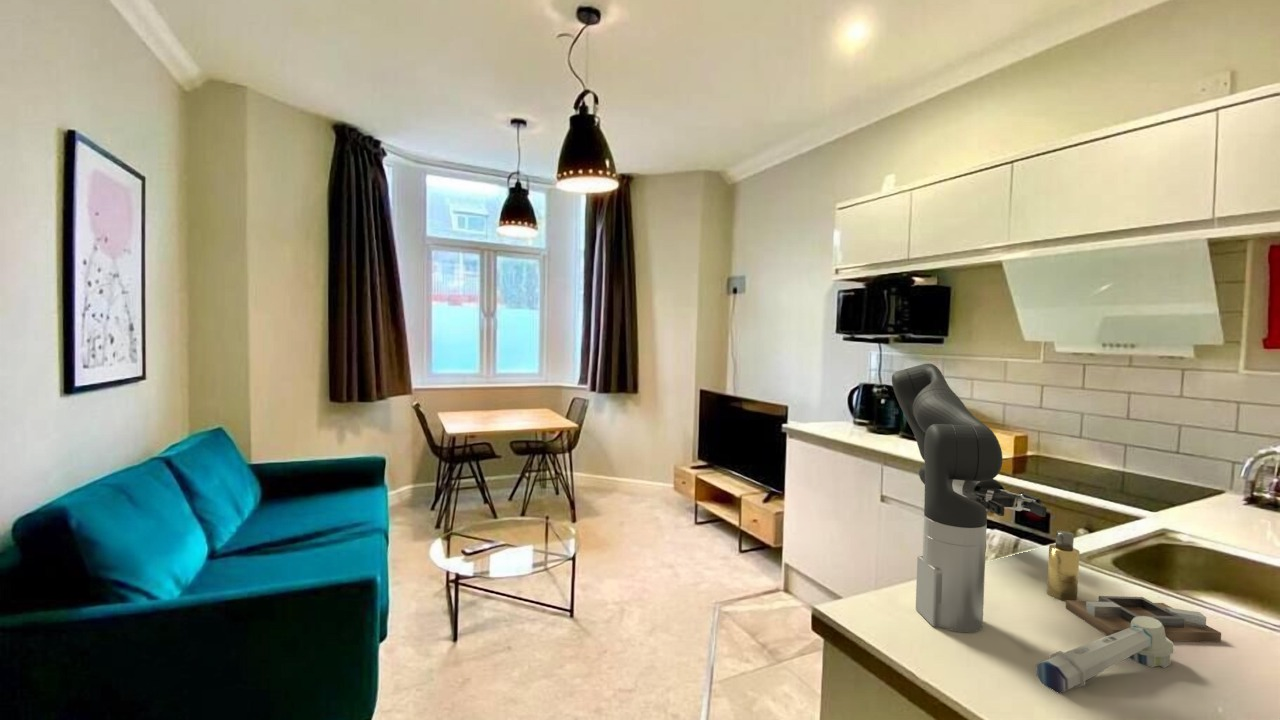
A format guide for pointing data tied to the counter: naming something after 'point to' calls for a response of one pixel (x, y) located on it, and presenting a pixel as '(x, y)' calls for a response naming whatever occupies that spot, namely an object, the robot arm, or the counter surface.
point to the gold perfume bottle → (1063, 568)
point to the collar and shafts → (1167, 617)
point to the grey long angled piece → (1107, 654)
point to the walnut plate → (1118, 624)
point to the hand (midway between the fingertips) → (1023, 511)
